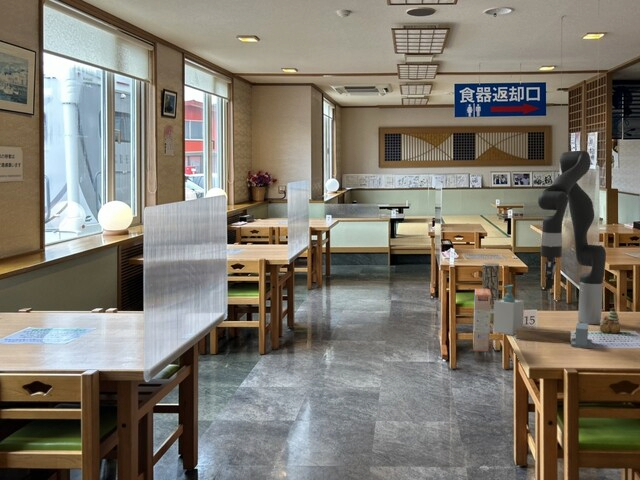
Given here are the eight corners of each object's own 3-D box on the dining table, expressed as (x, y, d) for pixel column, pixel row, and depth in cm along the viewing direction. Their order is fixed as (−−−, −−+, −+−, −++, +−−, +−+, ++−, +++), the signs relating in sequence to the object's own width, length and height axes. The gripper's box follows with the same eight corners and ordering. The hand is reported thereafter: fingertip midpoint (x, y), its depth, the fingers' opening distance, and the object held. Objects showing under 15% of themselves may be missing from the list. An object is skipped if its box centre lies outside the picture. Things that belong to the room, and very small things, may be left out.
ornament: (599, 333, 285) (600, 308, 284) (598, 329, 290) (599, 305, 289) (621, 334, 282) (622, 309, 281) (619, 331, 288) (620, 306, 287)
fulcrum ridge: (572, 340, 272) (572, 322, 271) (591, 342, 269) (592, 323, 269) (570, 346, 263) (571, 327, 262) (591, 348, 260) (591, 329, 259)
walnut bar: (515, 337, 278) (516, 327, 277) (570, 341, 272) (570, 330, 272) (515, 339, 274) (515, 329, 274) (570, 343, 268) (570, 333, 268)
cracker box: (490, 352, 254) (491, 294, 251) (472, 351, 255) (474, 294, 253) (489, 343, 267) (490, 288, 265) (473, 342, 268) (474, 287, 266)
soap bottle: (492, 332, 285) (494, 285, 283) (503, 328, 292) (505, 282, 290) (512, 335, 279) (514, 287, 278) (523, 331, 286) (524, 285, 284)
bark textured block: (497, 323, 302) (499, 264, 299) (481, 322, 303) (483, 264, 301) (497, 319, 309) (498, 262, 306) (481, 319, 310) (482, 262, 307)
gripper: (542, 242, 276) (541, 283, 278) (539, 245, 263) (537, 289, 264) (563, 243, 273) (561, 284, 275) (560, 246, 260) (558, 290, 262)
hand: (549, 286), depth 270 cm, fingers open, 8 cm apart
